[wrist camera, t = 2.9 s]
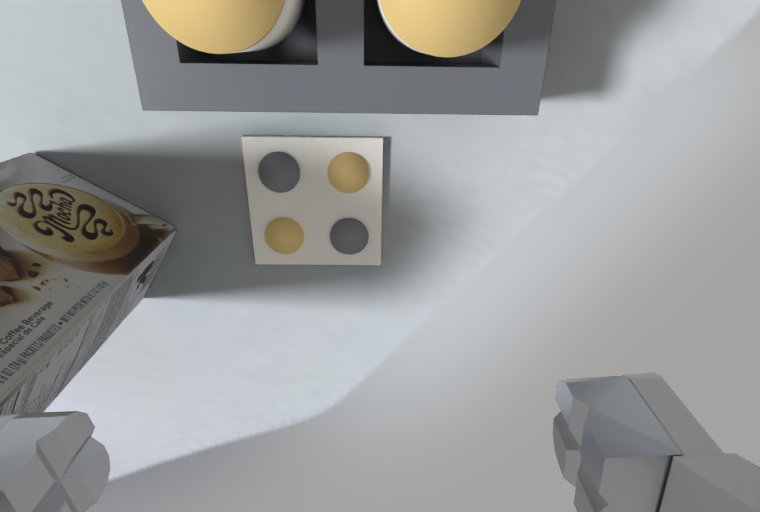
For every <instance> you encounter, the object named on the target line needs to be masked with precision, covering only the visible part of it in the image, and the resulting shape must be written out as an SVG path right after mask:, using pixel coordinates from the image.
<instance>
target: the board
mask: <svg viewBox="0 0 760 512" xmlns="http://www.w3.org/2000/svg"><path fill="white" fill-rule="evenodd" d="M121 2H122V8H123V13H124V18H125V23H126V28H127V33H128V38H129V43H130V48H131V53H132V58H133V63H134V68H135V73H136V78H137V83H138V89H139V94H140V99H141V104H142V109H143V110H154V111H233V112H312V113H391V114H470V115H538V112H539V105H540V99H541V92H542V86H543V80H544V73H545V67H546V60H547V54H548V47H549V41H550V34H551V28H552V21H553V15H554V8H555V2H556V0H521V2H520V4H519V7H518V9H517V11H516V13H515V14H514V16H513V18H512V19H511V21H510V22H509V24H508V25H507V26H506V28H505V29H504V30H503V31H502V32H501V33H500V34H499V35H498V36H497V37H496V38H495V39H494V40H493V41H491V42H490V43H489V44H487V45H486V46H484V47H483V48H481V49H479V50H477V51H475V52H472V53H469V54H466V55H462V56H457V57H437V56H433V55H429V54H424V53H420V52H416V51H414V50H411V49H409V48H407V47H405V46H404V45H402V44H401V43H400V42H398V41H397V40H396V39H395V38H394V37H393V36H392V35H391V33H390V32H389V31H388V30H387V28H386V26H385V24H384V23H383V21H382V18H381V16H380V13H379V10H378V6H377V0H305V4H304V9H303V13H302V15H301V18H300V21H299V22H298V24H297V26H296V28H295V29H294V30H293V32H292V33H291V34H290V35H289V36H288V37H287V38H286V39H285V40H284V41H283V42H281V43H280V44H278V45H276V46H274V47H272V48H269V49H266V50H261V51H251V52H239V53H227V54H213V53H206V52H202V51H198V50H196V49H193V48H190V47H188V46H186V45H184V44H182V43H181V42H179V41H178V40H176V39H175V38H173V37H172V36H171V35H169V34H168V33H167V32H166V31H165V30H164V29H163V28H162V27H161V26H160V25H159V24H158V23H157V22H156V21H155V19H154V18H153V17H152V15H151V14H150V13H149V11H148V10H147V8H146V6H145V5H144V3H143V1H142V0H121Z"/></svg>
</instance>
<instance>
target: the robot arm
mask: <svg viewBox="0 0 760 512" xmlns="http://www.w3.org/2000/svg"><path fill="white" fill-rule="evenodd" d="M555 399H556V401H557V403H558V405H559V408H560V410H561V412H560V413H559V414H558V415H557V416H556V417H555V418H554V420H553V421H554V422H553V440H554V448H555V453H556V457H557V460H558V464H559V466H560V469H561V472H562V475H563V477H564V478H565V479H566V480H567V481H568V482H570V483H571V484H572V485H574V486H575V487H576V490H575V499H574V505H575V507H576V510H577V512H760V467H759V466H757V465H755V464H753V463H751V462H750V461H748V460H746V459H744V458H742V457H741V456H739V455H737V454H724V453H723V452H722V450H721V449H720V448H719V447H718V445H717V444H716V443H715V442H714V440H713V439H712V438H711V437H710V435H709V434H708V433H707V432H706V431H705V429H704V428H703V427H702V426H701V425H700V423H699V422H698V421H697V420H696V418H695V417H694V416H693V415H692V413H691V412H690V411H689V410H688V409H687V407H686V406H685V405H684V404H683V402H682V401H681V400H680V399H679V397H678V396H677V395H676V394H675V393H674V391H673V390H672V389H671V388H670V386H669V385H668V384H667V383H666V382H665V380H664V379H663V378H662V377H661V376H660V375H658V374H656V373H642V374H631V375H622V376H609V377H595V378H582V379H567V380H559V382H558V385H557V388H556V398H555ZM94 428H95V427H94V425H93V423H92V421H91V420H90V418H89V416H88V414H87V413H83V412H78V411H70V412H44V413H24V414H10V415H0V512H85V511H86V510H87V509H89V508H90V507H91V506H93V505H94V504H95V503H96V502H97V501H98V499H99V497H100V496H101V494H102V492H103V491H104V489H105V487H106V484H107V480H108V476H109V472H110V462H109V455H108V453H107V451H106V449H105V447H104V445H102V444H101V443H99V442H98V441H97V440H95V439H94V438H92V437H91V436H92V433H93V430H94Z"/></svg>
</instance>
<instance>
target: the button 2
mask: <svg viewBox="0 0 760 512" xmlns="http://www.w3.org/2000/svg"><path fill="white" fill-rule="evenodd" d="M520 2H521V0H377V6H378V10H379V13H380V16H381V18H382V21H383V23H384V24H385V26H386V28H387V30H388V31H389V32H390V33H391V35H392V36H393V37H394V38H395V39H396V40H397V41H398V42H400V43H401V44H402V45H404V46H405V47H407V48H409V49H411V50H414V51H416V52H420V53H424V54H429V55H433V56H437V57H457V56H462V55H466V54H469V53H472V52H475V51H477V50H479V49H481V48H483V47H484V46H486V45H487V44H489V43H490V42H491V41H493V40H494V39H495V38H496V37H497V36H498V35H499V34H500V33H501V32H502V31H503V30H504V29H505V28H506V26H507V25H508V24H509V22H510V21H511V19H512V18H513V16H514V14H515V13H516V11H517V9H518V7H519V4H520Z"/></svg>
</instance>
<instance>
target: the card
mask: <svg viewBox="0 0 760 512" xmlns="http://www.w3.org/2000/svg"><path fill="white" fill-rule="evenodd" d="M241 141H242V150H243V158H244V167H245V176H246V185H247V194H248V203H249V212H250V221H251V229H252V238H253V247H254V256H255V264H276V265H381V234H382V173H383V137H328V136H242V137H241Z"/></svg>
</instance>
